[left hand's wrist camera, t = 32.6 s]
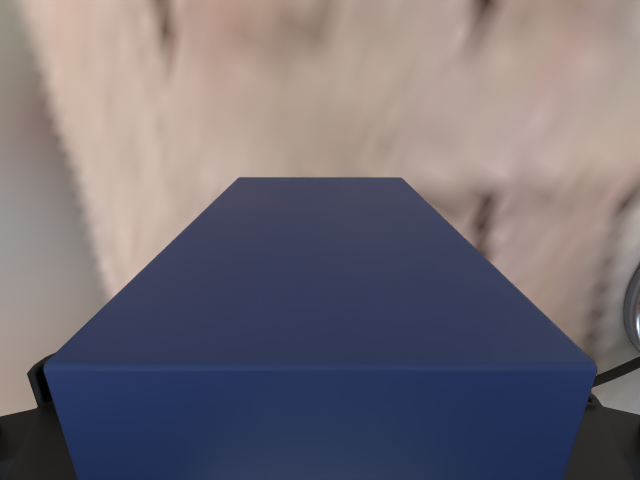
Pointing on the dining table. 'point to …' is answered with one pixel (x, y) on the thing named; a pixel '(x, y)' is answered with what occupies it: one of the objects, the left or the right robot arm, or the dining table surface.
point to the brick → (320, 350)
